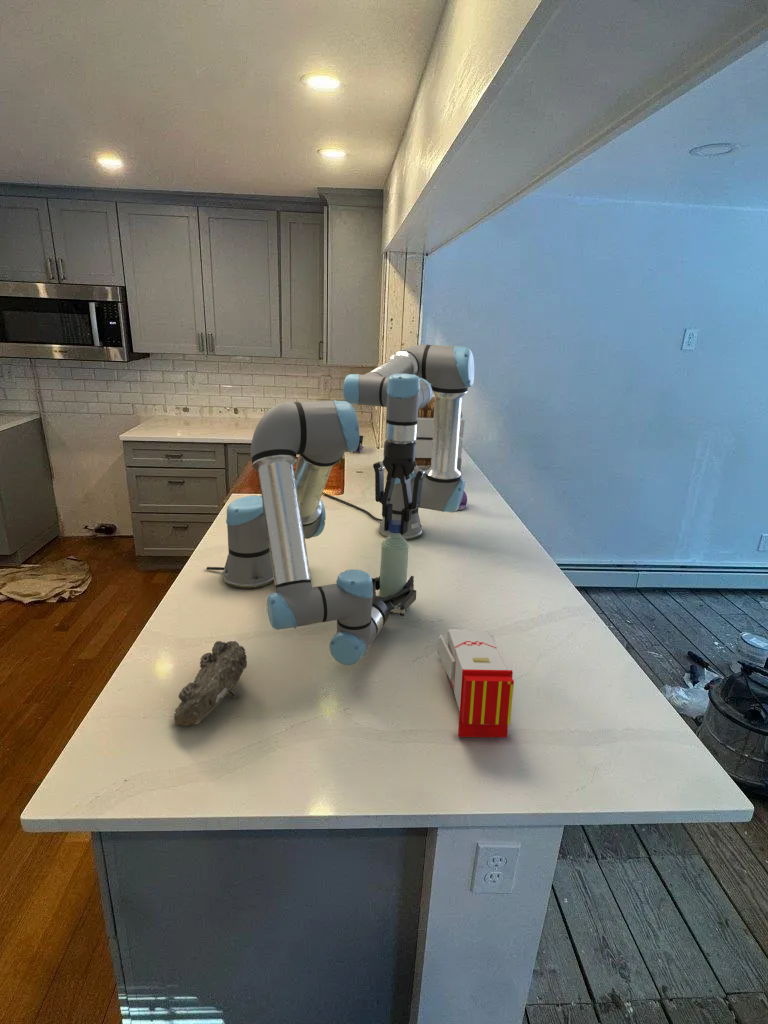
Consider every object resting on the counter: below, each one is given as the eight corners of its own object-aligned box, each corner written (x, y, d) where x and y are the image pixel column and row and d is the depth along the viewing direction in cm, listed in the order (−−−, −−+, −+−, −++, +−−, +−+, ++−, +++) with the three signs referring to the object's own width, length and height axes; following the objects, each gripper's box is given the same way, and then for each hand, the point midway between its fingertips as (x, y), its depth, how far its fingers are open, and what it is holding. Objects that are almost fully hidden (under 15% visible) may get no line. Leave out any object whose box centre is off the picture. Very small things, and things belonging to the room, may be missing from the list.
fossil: (197, 643, 123) (246, 611, 118) (228, 672, 126) (277, 642, 121) (151, 720, 104) (207, 686, 99) (188, 752, 107) (245, 721, 102)
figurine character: (362, 456, 306) (363, 447, 319) (363, 443, 302) (363, 434, 316) (350, 456, 306) (351, 446, 319) (350, 442, 302) (351, 433, 316)
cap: (402, 527, 146) (402, 519, 145) (404, 533, 142) (405, 524, 142) (387, 527, 145) (387, 519, 145) (389, 533, 142) (389, 525, 141)
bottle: (408, 602, 153) (413, 522, 146) (400, 614, 147) (405, 531, 139) (383, 597, 155) (387, 518, 148) (375, 609, 149) (378, 527, 141)
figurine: (453, 512, 223) (457, 475, 218) (439, 504, 231) (442, 469, 226) (473, 509, 227) (477, 473, 222) (459, 501, 236) (462, 467, 231)
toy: (488, 613, 130) (523, 677, 101) (484, 667, 133) (517, 744, 104) (435, 612, 130) (455, 676, 101) (432, 666, 133) (451, 743, 103)
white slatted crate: (382, 463, 289) (386, 382, 275) (445, 464, 293) (451, 384, 279) (390, 482, 257) (394, 392, 243) (460, 483, 261) (468, 394, 247)
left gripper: (329, 623, 137) (363, 583, 158) (408, 641, 132) (433, 597, 152) (330, 595, 135) (364, 558, 155) (410, 612, 129) (435, 572, 149)
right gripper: (439, 442, 136) (432, 533, 144) (376, 433, 143) (373, 520, 151) (426, 448, 129) (420, 542, 137) (362, 438, 136) (359, 528, 144)
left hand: (398, 577), depth 154 cm, fingers closed on bottle, 7 cm apart
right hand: (395, 530), depth 144 cm, fingers closed on cap, 4 cm apart
